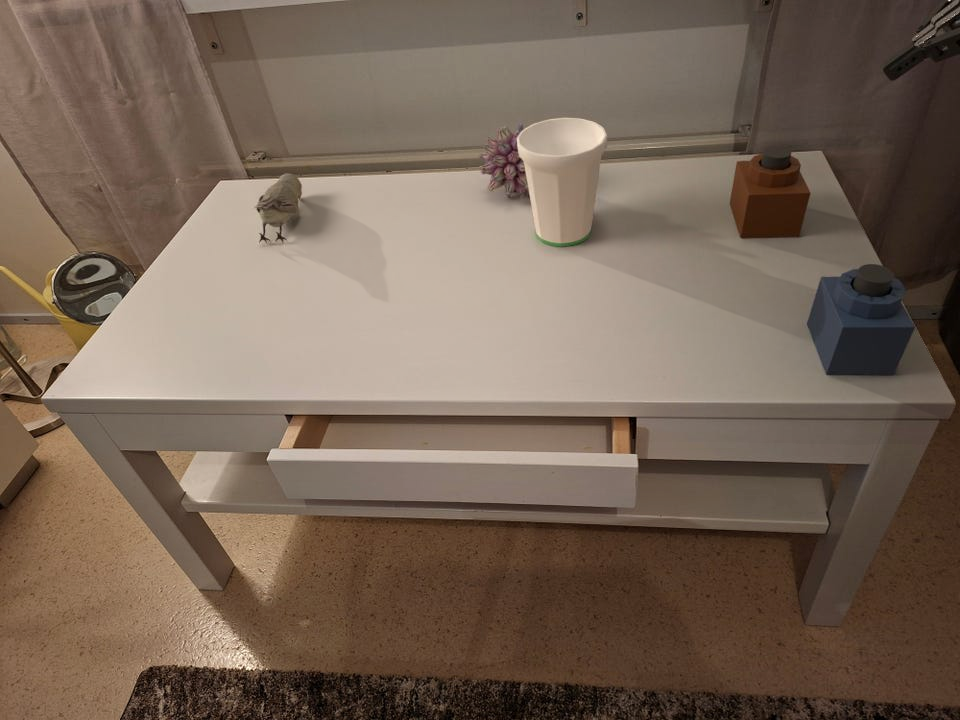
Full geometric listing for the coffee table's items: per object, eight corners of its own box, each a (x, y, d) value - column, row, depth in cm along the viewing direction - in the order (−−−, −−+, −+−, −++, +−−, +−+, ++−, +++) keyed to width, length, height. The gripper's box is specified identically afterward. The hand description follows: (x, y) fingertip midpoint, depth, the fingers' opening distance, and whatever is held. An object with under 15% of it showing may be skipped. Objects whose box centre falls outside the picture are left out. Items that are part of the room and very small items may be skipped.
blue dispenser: (806, 323, 80) (825, 262, 74) (868, 323, 79) (892, 261, 73) (825, 374, 73) (848, 312, 67) (893, 375, 72) (922, 311, 66)
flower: (537, 181, 116) (565, 197, 106) (473, 195, 114) (496, 213, 104) (531, 113, 110) (560, 123, 100) (464, 127, 108) (487, 138, 98)
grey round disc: (790, 171, 90) (794, 157, 89) (763, 172, 91) (766, 158, 89) (785, 159, 93) (788, 145, 91) (758, 160, 93) (761, 146, 92)
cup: (546, 204, 107) (543, 112, 97) (617, 220, 101) (622, 124, 91) (507, 243, 100) (499, 148, 89) (582, 262, 94) (582, 163, 84)
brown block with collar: (799, 237, 93) (814, 179, 87) (740, 238, 94) (751, 181, 88) (784, 201, 100) (797, 145, 94) (729, 203, 102) (738, 148, 96)
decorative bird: (314, 197, 117) (302, 158, 112) (289, 247, 106) (274, 206, 101) (285, 198, 118) (272, 160, 113) (257, 248, 106) (241, 208, 101)
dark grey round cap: (848, 279, 72) (853, 264, 70) (882, 279, 71) (888, 263, 70) (857, 298, 69) (863, 282, 68) (892, 298, 69) (899, 282, 67)
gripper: (1020, -90, 71) (861, 32, 83) (1059, -61, 62) (874, 71, 74) (1055, -37, 73) (895, 75, 85) (1097, -1, 64) (911, 118, 76)
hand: (886, 73), depth 79 cm, fingers closed
